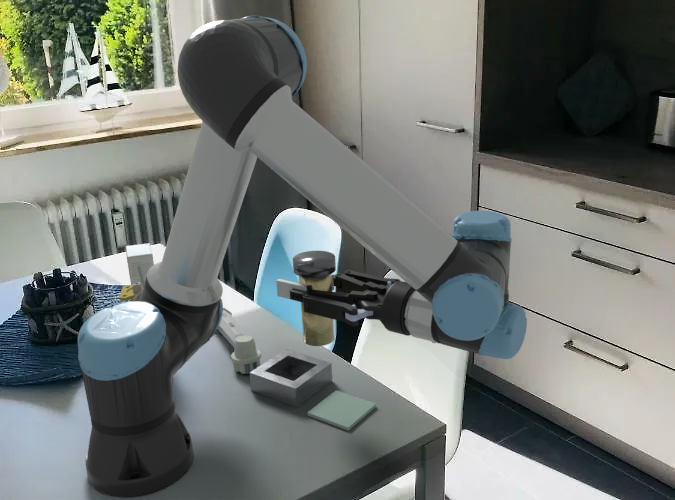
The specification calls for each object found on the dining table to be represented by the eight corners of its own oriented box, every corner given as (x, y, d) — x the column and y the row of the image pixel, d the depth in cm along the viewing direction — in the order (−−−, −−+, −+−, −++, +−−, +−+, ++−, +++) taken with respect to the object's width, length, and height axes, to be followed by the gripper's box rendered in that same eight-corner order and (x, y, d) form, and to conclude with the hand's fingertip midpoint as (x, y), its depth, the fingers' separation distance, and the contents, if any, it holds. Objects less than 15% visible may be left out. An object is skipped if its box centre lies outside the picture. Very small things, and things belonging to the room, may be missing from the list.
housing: (296, 407, 118) (295, 388, 117) (251, 390, 124) (249, 372, 123) (332, 380, 126) (331, 363, 125) (287, 366, 131) (286, 349, 130)
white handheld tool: (228, 302, 151) (262, 335, 128) (232, 332, 152) (266, 370, 129) (204, 307, 149) (233, 341, 126) (208, 337, 150) (237, 377, 127)
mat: (348, 430, 111) (348, 427, 111) (307, 415, 116) (307, 412, 116) (376, 406, 117) (376, 403, 117) (336, 393, 122) (336, 390, 122)
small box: (131, 287, 170) (125, 245, 167) (155, 284, 172) (150, 242, 168) (132, 300, 163) (126, 256, 159) (158, 296, 164) (152, 253, 161)
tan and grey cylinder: (323, 352, 112) (318, 268, 107) (290, 342, 116) (284, 260, 111) (347, 335, 117) (343, 254, 112) (314, 326, 121) (309, 248, 116)
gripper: (384, 360, 98) (254, 323, 111) (444, 311, 112) (323, 284, 124) (383, 309, 95) (250, 278, 108) (445, 266, 109) (320, 243, 122)
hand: (289, 281), depth 116 cm, fingers closed on tan and grey cylinder, 5 cm apart
